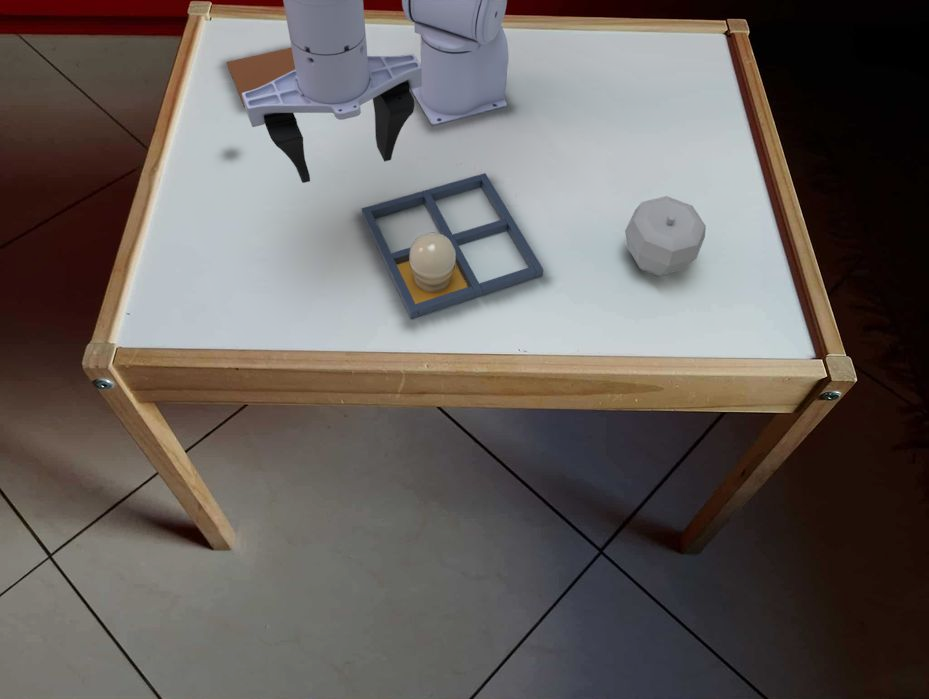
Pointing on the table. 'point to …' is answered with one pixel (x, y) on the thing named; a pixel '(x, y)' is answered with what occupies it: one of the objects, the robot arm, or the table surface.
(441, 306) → the holder
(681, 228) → the apple
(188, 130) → the table surface
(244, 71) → the mat
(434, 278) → the beige domed knob
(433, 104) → the robot arm
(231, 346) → the table surface
